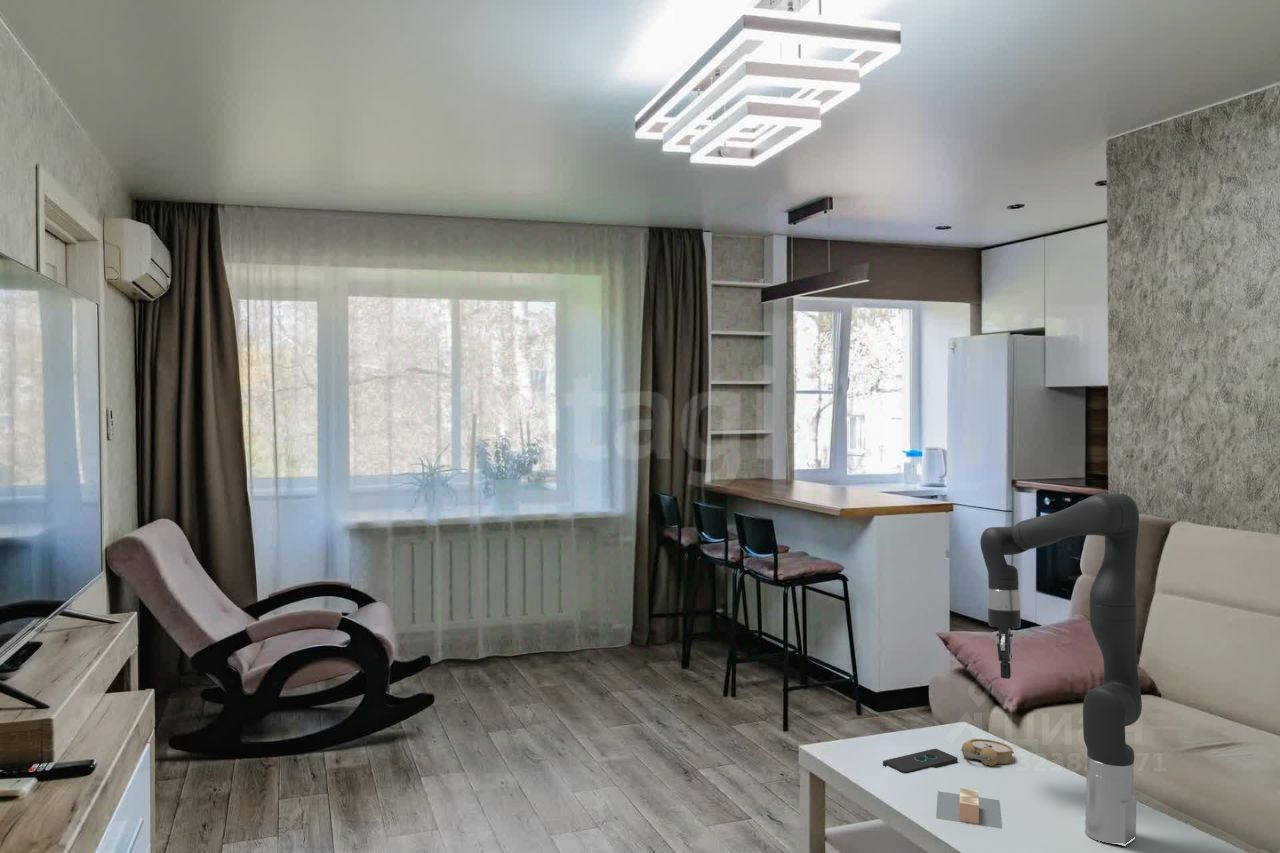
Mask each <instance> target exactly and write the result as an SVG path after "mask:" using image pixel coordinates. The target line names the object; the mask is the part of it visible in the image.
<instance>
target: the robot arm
mask: <svg viewBox="0 0 1280 853" xmlns="http://www.w3.org/2000/svg"><path fill="white" fill-rule="evenodd" d="M1139 527H1140V514H1139V508H1138V506H1137V504H1136V501H1135V500H1134V499H1133V498H1132V497H1131V496H1129V495H1127V494H1126V493H1125V494H1124V493H1098V494H1094V495H1091V496H1088V497H1087V498H1085V499H1083V500H1081V501H1079V502H1077V503H1075V504H1073V505H1071V506H1069V507H1067V508H1064V509H1061V510H1059V511H1056V512H1053V513H1048V514H1043V515H1040V516H1036V517H1035V516H1034V517H1032V518H1029V519H1025V520H1022V521H1019V522H1017V523H1016V524H1015V525H1013V526H999V527H998V526H992V527H987V528H986V529H985V530H983V531H982V533H981V535H980V536H981V537H980V542H979V543H980V550H981V553H982V556H983V560H984V563H985V567H986V570H987V575H988V576H987V578H988V579H987V580H988V581H987V582H988V590H987V591H988V592H987V617H988V618H987V621H988V622H987V624H988V626H990V627H991V628H997V629H998V632H997V633H996V634H995V642H996V653H997V655H998V661H999V663H1000V664H999V665H1000V678H1001V679H1007V680H1009V679H1011V677H1012V675H1011V674H1012V672H1011V671H1012V670H1011V666H1012V664H1011V662H1012V660H1013V659H1012V658H1013V652H1014V639H1015V635H1014V633H1012V631H1011V629H1019V628H1020V627H1021V625H1022V624H1021V622H1022V621H1021V620H1022V619H1021V598H1020V592H1019V571H1018V569H1017V567H1016V566H1015V565H1012V564H1008V563H1007V560H1006V557H1005V556H1008V555H1009V556H1012V555H1013V556H1014V555H1019V554H1021V553H1025V552H1027V551H1029V550H1032V549H1037V548H1041V547H1046V546H1049V545H1053V544H1056V543H1058V542H1060V541H1061V540H1063V539H1066V538H1071V537H1076V536H1077V537H1078V536H1100V537H1104V542H1105V543H1104V555H1103V559H1102V562H1101V565H1100V568H1099V570H1098V572H1097V573H1096V576H1095V578H1094V579H1093V583H1092V585H1091V589H1090V591H1089V623H1090V628H1091V631H1092V633H1093V635H1094V638H1095V640H1096V642H1097V644H1098V647H1099V649H1100V652H1101V654H1102V660H1103V684H1102V685H1100V686H1097V687H1093V688H1092V689H1089V691H1088V692H1086V694H1085V697H1084V698H1083V704H1082V728H1083V731H1082V732H1083V734H1082V735H1083V741H1084V744H1085V746H1086V752H1087V753H1086V777H1085V778H1086V780H1085V781H1086V782H1085V786H1086V787H1085V819H1084V820H1085V821H1084V823H1085V824H1084V828H1085V829H1084V832H1085V835H1087V836H1088V837H1089V838H1091V839H1093V840H1095V841H1097V840H1098V842H1100V841H1102V842H1107V843H1123V844H1126V843H1127V842H1129V841H1130V840H1131V839H1133V838H1134V837H1136V838H1137V833H1136V832H1137V803H1138V802H1137V801H1138V800H1137V799H1138V798H1137V795H1136V794H1135V795H1134V784H1135V783H1134V778H1135V776H1134V775H1135V751H1134V749H1133V747H1131V745H1130V744H1127V743H1126V742H1127V741H1126V727H1128V726H1131V725H1133V724H1135V723H1136V722H1137V721H1138V720H1139V719H1140V716H1141V714H1142V711H1143V709H1142V708H1143V705H1142V702H1143V701H1142V694H1141V693H1142V692H1141V686H1140V684H1141V683H1140V678H1139V671H1138V670H1139V669H1138V649H1137V648H1138V647H1137V646H1138V645H1137V644H1138V643H1137V639H1138V638H1137V622H1138V621H1137V597H1136V596H1137V595H1136V582H1137V581H1136V580H1137V579H1136V578H1137V577H1136V575H1137V574H1136V569H1137V568H1136V566H1137V565H1136V564H1137V563H1136V561H1137V549H1138V538H1139ZM1102 842H1101V843H1102Z"/></svg>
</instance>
